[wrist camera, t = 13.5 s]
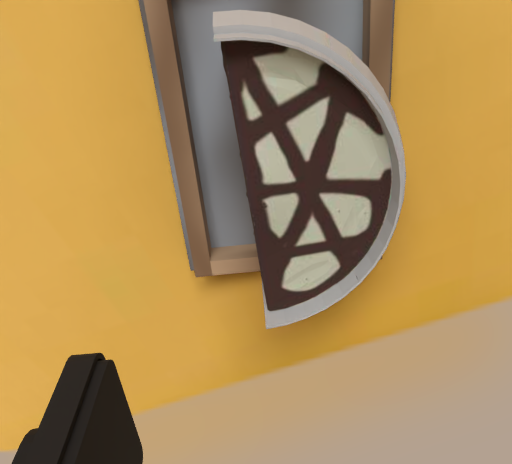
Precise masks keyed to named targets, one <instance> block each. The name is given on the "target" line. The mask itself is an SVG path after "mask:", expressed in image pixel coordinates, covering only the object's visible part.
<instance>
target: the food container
mask: <svg viewBox="0 0 512 464" xmlns="http://www.w3.org/2000/svg"><path fill="white" fill-rule="evenodd" d="M213 31H214V38H213V39H214V42H218V41H221V51H222V55H223V67H224V70H225V73H226V76H227V82H228V87H229V92H230V95H229V96H230V100H231V104H232V110H233V116H234V122H235V128H236V133H237V139H238V144H239V149H240V158H241V161H242V167H243V173H244V178H245V184H246V190H247V192H246V196H247V197H248V202H249V207H250V213H251V218H252V224H253V229H254V232H253V234H254V235H255V242H256V248H257V254H258V260H259V266H260V271H261V277H262V288H263V299H264V311H265V322H266V329H269V328H274V327H279V326H284V325H288V324H291V323H294V322H297V321H300V320H303V319H306V318H308V317H310V316H312V315H315V314H317V313H319V312H321V311H323V310H325V309H327V308H328V307H330V306H331V305H333V304H334V303H336V302H338V301H339V300H341V299H342V298H344V297H345V296H346V295H347V294H348V293H350V292H351V291H352V290H353V289H354V288H355V287H357V286H358V285H359V284H360V283H361V282H362V281H363V280H364V279H365V277H366V276H367V275H368V274H369V273H370V272H371V271H372V269H373V268H374V267H375V266H376V264H377V263H378V261H379V259H380V258H381V256H382V255H383V253H384V252H385V250H386V249H387V246H388V244H389V242H390V239H391V237H392V235H393V233H394V230H395V228H396V224H397V222H398V219H399V215H400V211H401V207H402V203H403V200H404V190H405V179H406V172H405V159H404V150H403V145H402V140H401V135H400V131H399V128H398V124H397V120H396V116H395V113H394V110H393V108H392V106H391V104H390V102H389V100H388V97H387V95H386V93H385V91H384V89H383V87H382V86H381V85H380V83H379V82H378V80H377V79H376V78H375V76H374V75H373V73H372V72H371V71H370V69H369V68H368V67H367V66H366V65H365V64H364V63H363V62H362V61H361V60H360V59H359V58H358V57H357V56H356V55H355V54H354V53H353V52H352V51H351V50H350V49H349V48H348V47H346V46H345V45H343V44H342V43H341V42H339V41H338V40H336V39H335V38H333V37H332V36H330V35H329V34H327V33H326V32H324V31H322V30H320V29H318V28H315V27H313V26H311V25H309V24H307V23H304V22H302V21H300V20H297V19H293V18H289V17H286V16H282V15H278V14H274V13H270V12H259V11H248V10H232V11H219V12H213Z"/></svg>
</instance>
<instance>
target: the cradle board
mask: <svg viewBox="0 0 512 464" xmlns="http://www.w3.org/2000/svg"><path fill="white" fill-rule="evenodd" d="M139 6H140V11H141V16H142V21H143V26H144V31H145V37H146V42H147V47H148V52H149V57H150V62H151V68H152V73H153V78H154V83H155V88H156V93H157V99H158V104H159V109H160V114H161V119H162V125H163V130H164V135H165V140H166V145H167V150H168V156H169V161H170V166H171V171H172V176H173V181H174V187H175V192H176V197H177V202H178V207H179V212H180V218H181V223H182V228H183V233H184V238H185V243H186V249H187V254H188V259H189V264H190V269H191V270H194V271H195V276H196V277H203V276H213V275H223V274H234V273H244V272H255V271H260V266H259V260H258V254H257V248H256V242H255V235H254V234H253V232H254V229H253V224H252V218H251V213H250V207H249V202H248V197H247V196H246V192H247V190H246V184H245V178H244V173H243V167H242V161H241V158H240V149H239V144H238V139H237V133H236V128H235V122H234V116H233V110H232V104H231V100H230V96H229V95H230V92H229V87H228V82H227V76H226V73H225V70H224V67H223V55H222V51H221V41H218V42H214V39H213V38H214V31H213V12H219V11H232V10H248V11H259V12H270V13H274V14H278V15H282V16H286V17H289V18H293V19H297V20H300V21H302V22H304V23H307V24H309V25H311V26H313V27H315V28H318V29H320V30H322V31H324V32H326V33H327V34H329V35H330V36H332V37H333V38H335V39H336V40H338V41H339V42H341V43H342V44H343V45H345V46H346V47H348V48H349V49H350V50H351V51H352V52H353V53H354V54H355V55H356V56H357V57H358V58H359V59H360V60H361V61H362V62H363V63H364V64H365V65H366V66H367V67H368V68H369V69H370V71H371V72H372V73H373V75H374V76H375V78H376V79H377V80H378V82H379V83H380V85H381V86H382V87H383V89H384V91H385V93H386V95H387V97H388V100H389V102H390V96H391V73H392V51H393V28H394V6H395V0H139ZM380 259H382V256H381V258H380ZM380 259H379V260H380Z"/></svg>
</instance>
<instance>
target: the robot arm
mask: <svg viewBox="0 0 512 464" xmlns="http://www.w3.org/2000/svg"><path fill="white" fill-rule="evenodd" d="M142 462H143V451H142V445H141V442H140V439H139V436H138V433H137V430H136V427H135V424H134V421H133V418H132V415H131V412H130V409H129V406H128V403H127V400H126V397H125V394H124V391H123V388H122V385H121V382H120V379H119V376H118V373H117V370H116V367H115V364H114V362H113V360H105V357H104V355H103V354H102V353H93V354H82V355H71V356H70V357H69V358H68V360H67V362H66V364H65V366H64V369H63V371H62V373H61V376H60V378H59V381H58V383H57V385H56V388H55V390H54V392H53V395H52V397H51V399H50V402H49V404H48V407H47V409H46V411H45V414H44V416H43V418H42V421H41V423H40V425H39V428H36V429H32V430H30V431H29V432H28V433H27V434H26V435H25V437H24V438H23V440H22V442H21V444H20V446H19V448H18V451H17V453H16V455H15V457H14V460H13V462H12V464H142Z"/></svg>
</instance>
